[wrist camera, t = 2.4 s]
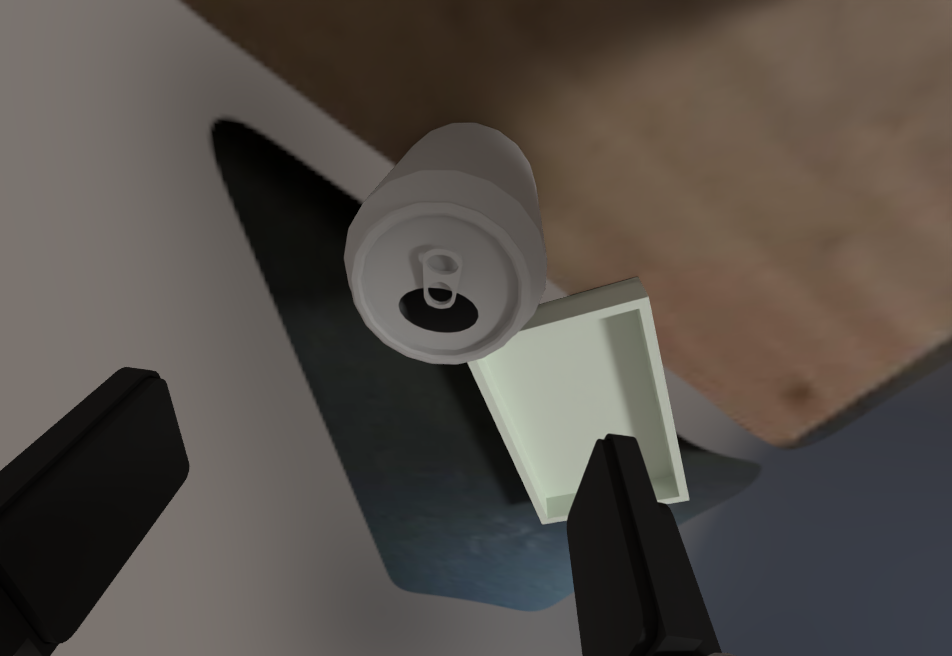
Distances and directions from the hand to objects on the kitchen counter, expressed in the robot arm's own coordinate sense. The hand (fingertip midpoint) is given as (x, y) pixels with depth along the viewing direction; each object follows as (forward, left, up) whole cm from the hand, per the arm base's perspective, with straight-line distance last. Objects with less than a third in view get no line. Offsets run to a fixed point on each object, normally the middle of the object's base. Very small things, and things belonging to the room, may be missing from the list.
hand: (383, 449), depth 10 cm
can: (0, 0, -19) cm, 19 cm away
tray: (+14, +10, -19) cm, 25 cm away
